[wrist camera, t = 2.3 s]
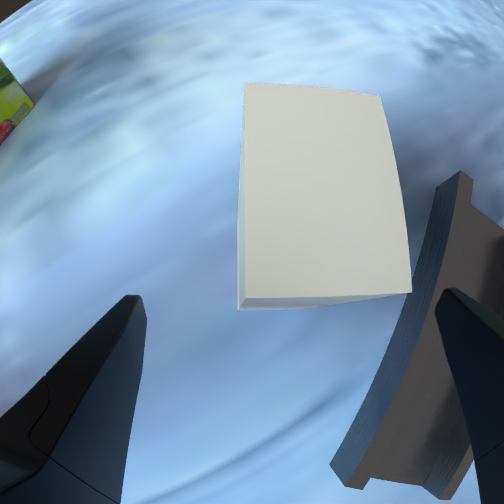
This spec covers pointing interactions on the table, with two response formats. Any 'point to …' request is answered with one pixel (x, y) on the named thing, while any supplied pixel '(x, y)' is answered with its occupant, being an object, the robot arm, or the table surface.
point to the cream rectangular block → (317, 200)
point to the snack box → (11, 102)
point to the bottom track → (427, 358)
